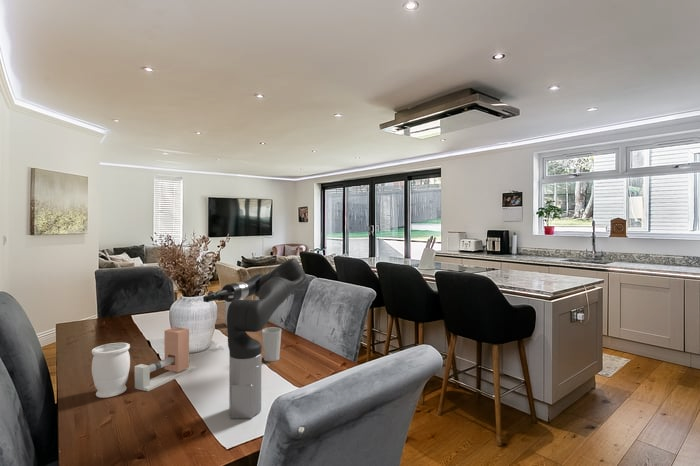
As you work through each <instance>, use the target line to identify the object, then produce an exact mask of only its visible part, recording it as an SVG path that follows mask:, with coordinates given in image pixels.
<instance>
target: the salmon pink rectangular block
mask: <svg viewBox="0 0 700 466" xmlns="http://www.w3.org/2000/svg"><path fill="white" fill-rule="evenodd" d="M171 356H175V362H174V363H172V364H169V365H167V366H164V370H165V371H166V370H167V371H175V372H180V371H182V370H184V369H187V368H189V365H190V328H185V327H177V326H174V327H172V328H171V327H170V328H168V329H166V330H164V359H166V358H169V357H171Z"/></svg>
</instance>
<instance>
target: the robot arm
mask: <svg viewBox="0 0 700 466" xmlns="http://www.w3.org/2000/svg"><path fill="white" fill-rule="evenodd" d="M306 276H307V274H306V273H305V270H304V269H303V267H302V265H301V264H300V262H299V261H298V260H297V259H296V258H290V259H287V260H285V261H284V262H282V263H281V264H279V265H277V266H276V267H274V268H273V269H272V270H271V271H270V272H268V273H266V274H263V273H262V274H261V273H258V274H255V275H254V276H251V277H250V278H249V279H247V280H244V281H237V282H233V283H228V284H225V285H224V286H222V288H221V289H218V290H215V291H212V290H209V291H208V293H207V295H204V296H203V297H202V298H203V299H202V300H203V302H204V303H209V302H213V301H214V302H216V301H218V302H221V301H222V302H225V301H227V302H231V303H230V305H229V307H228V311H227V325H226V330H227V331H226V332H227V346H228V347H227V348H228V351H229V353H228V354H229V355H228V356H229V358H228V359H229V365H228V366H229V368H228V369H229V370H228V371H229V379H228V380H229V384H228V385H229V386H228V389H229V393H228V395H229V396H228V399H229V400H228V403H229V405H228V406H229V407H228V408H229V411H228V413H229V415H230V419H253V418H254V417H255V416H257V415H258V414H260V413H261V411H262V362H263V361H262V358H263V357H262V354H263V353H262V349H263V348H262V346H263V345H262V343H261V342H260V341H259V340H257V339H255V338H253V337H252V336H250V335H249V334H248V333H247V332H249V333H257V332H260V331H262V330H263V329H265V328H264V327H266V325H267V323H268V322H269V320H270V319H271V317H272V316H273V314H274V313H275V312H276V310H277V309H278V308H279V307H280V306H281V305H282V304H283V303H284V302H285V301H286V300H287V298H288V297H289V296H290V294H291V293H293V292H294V290H296V289H297V288H298V287H299V286H300V285H301V284H302V283H304V282H305V280H306ZM254 295H255V297H258V299H245V298H247V297H251V296H254ZM240 299H243V300H240Z"/></svg>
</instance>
